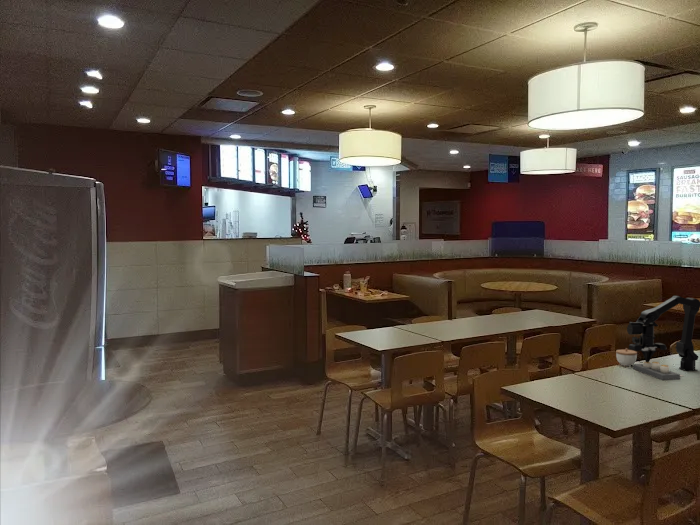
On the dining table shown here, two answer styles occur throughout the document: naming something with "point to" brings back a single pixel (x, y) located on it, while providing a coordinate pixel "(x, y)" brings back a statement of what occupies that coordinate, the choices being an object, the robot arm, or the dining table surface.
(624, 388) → the dining table surface
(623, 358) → the lidded jar
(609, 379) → the dining table surface
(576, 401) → the dining table surface
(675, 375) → the board
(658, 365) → the button
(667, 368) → the button
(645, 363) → the button
